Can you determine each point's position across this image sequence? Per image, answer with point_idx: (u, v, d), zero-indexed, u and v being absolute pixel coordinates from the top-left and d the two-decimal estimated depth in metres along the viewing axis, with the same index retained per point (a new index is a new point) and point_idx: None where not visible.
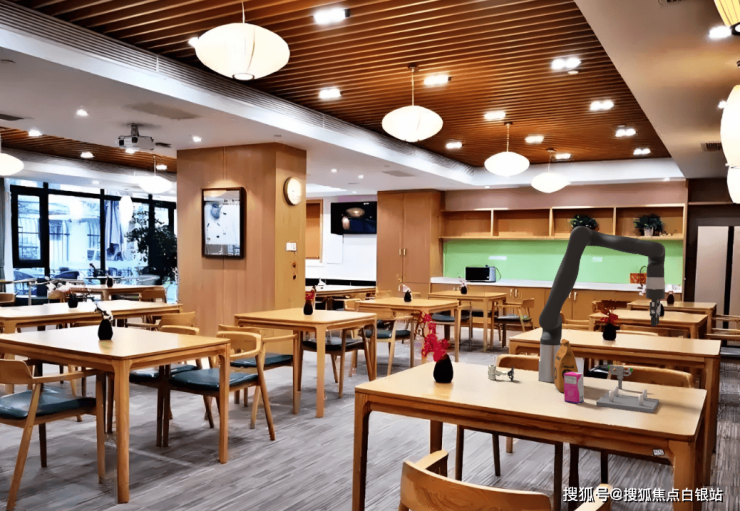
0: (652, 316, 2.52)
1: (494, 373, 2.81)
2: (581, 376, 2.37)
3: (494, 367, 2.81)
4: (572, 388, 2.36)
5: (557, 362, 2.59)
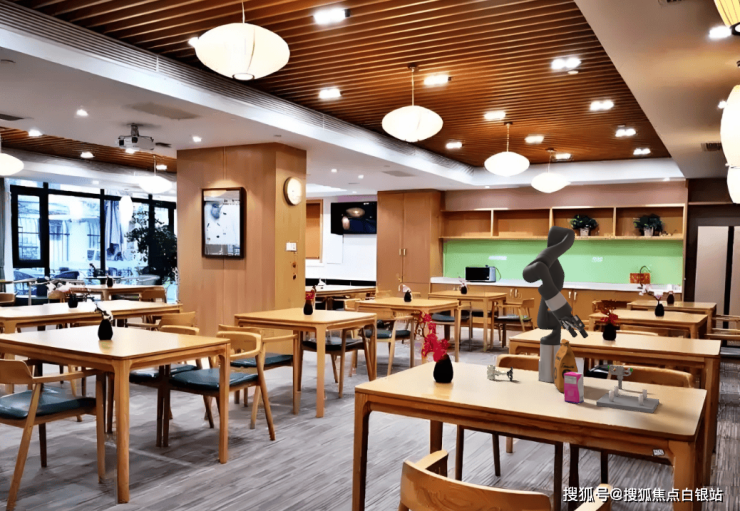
0: None
1: (493, 373, 2.81)
2: (581, 376, 2.37)
3: (493, 367, 2.81)
4: (572, 388, 2.36)
5: (557, 362, 2.59)
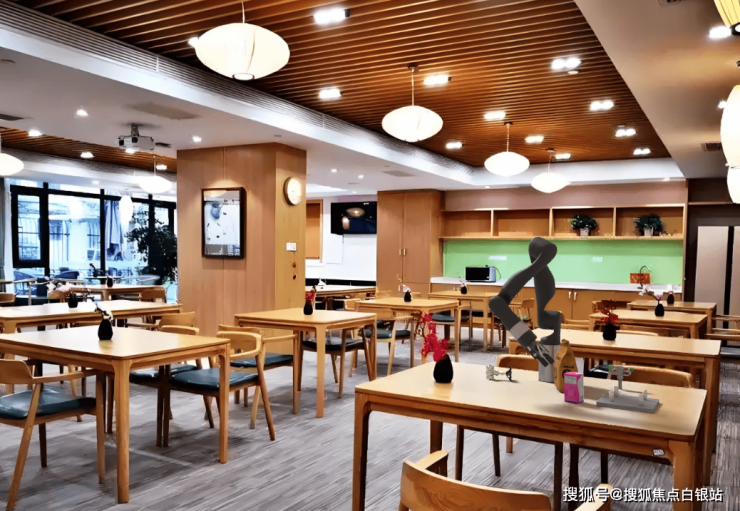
0: None
1: (492, 373, 2.81)
2: (581, 376, 2.37)
3: (492, 367, 2.82)
4: (572, 388, 2.36)
5: (557, 362, 2.59)
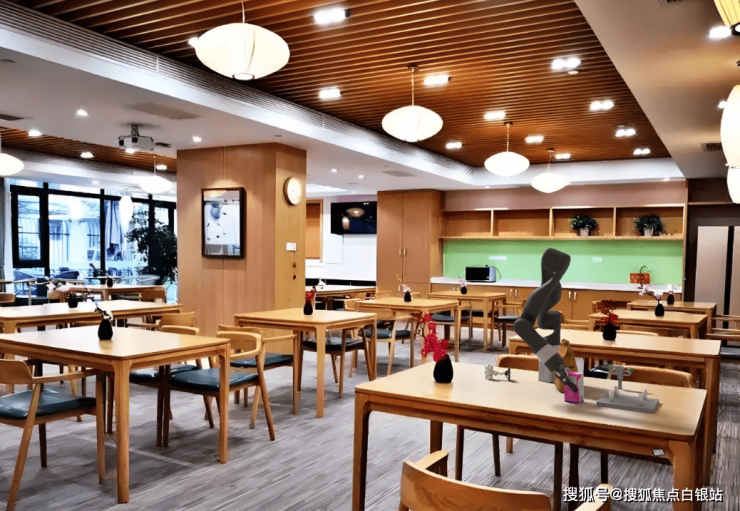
0: None
1: (491, 373, 2.81)
2: (581, 376, 2.37)
3: (491, 367, 2.82)
4: None
5: None
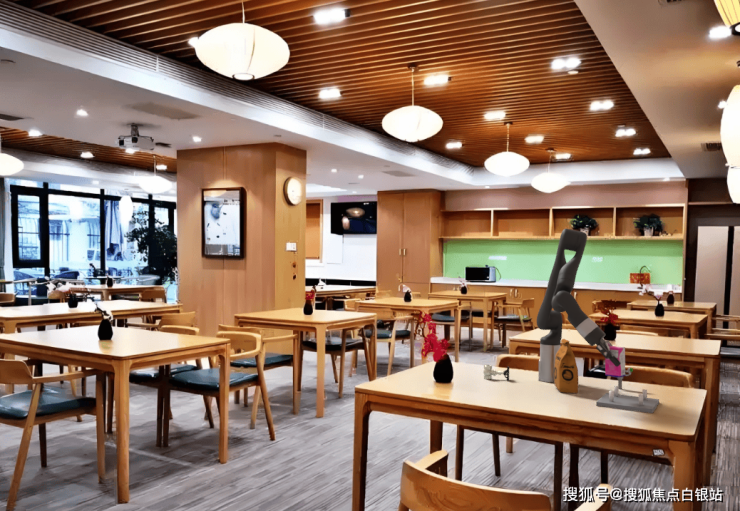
0: None
1: (490, 373, 2.81)
2: (623, 350, 2.34)
3: (490, 367, 2.82)
4: None
5: (557, 362, 2.59)
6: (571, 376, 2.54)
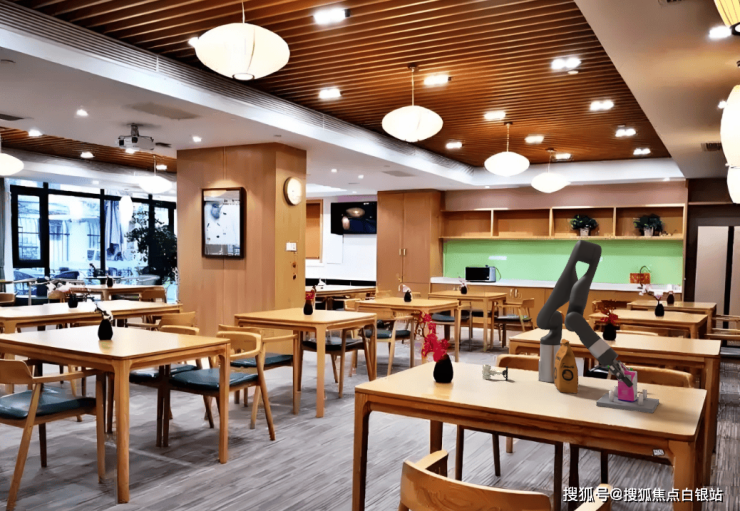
0: None
1: (489, 373, 2.82)
2: (635, 374, 2.34)
3: (489, 367, 2.82)
4: (626, 387, 2.33)
5: (557, 362, 2.59)
6: (571, 376, 2.54)
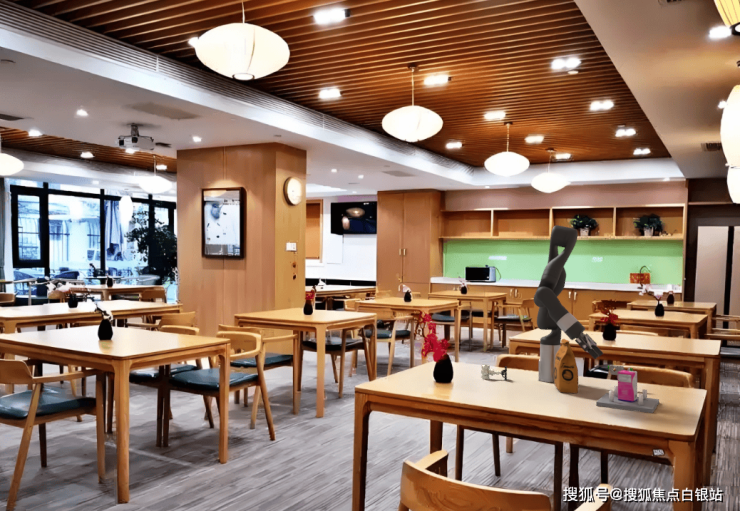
0: None
1: (488, 373, 2.82)
2: (635, 374, 2.34)
3: (488, 367, 2.82)
4: (626, 387, 2.33)
5: (557, 362, 2.59)
6: (571, 376, 2.54)
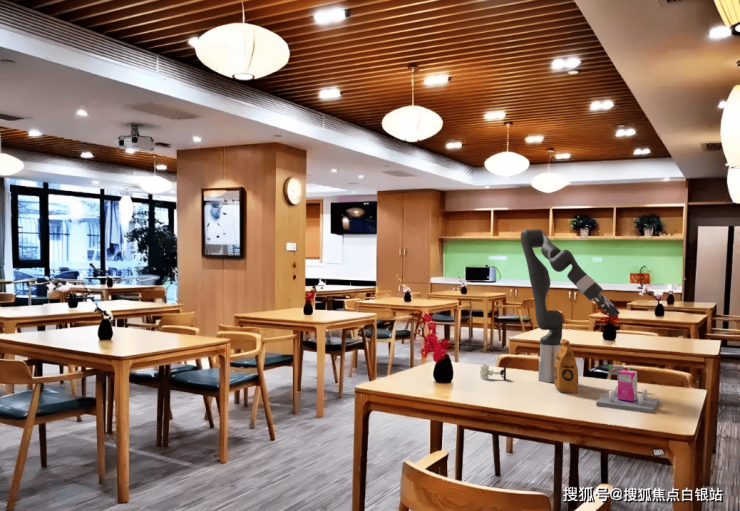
0: None
1: (487, 373, 2.82)
2: (635, 374, 2.34)
3: (487, 367, 2.82)
4: (626, 387, 2.33)
5: (557, 362, 2.59)
6: (571, 376, 2.54)
